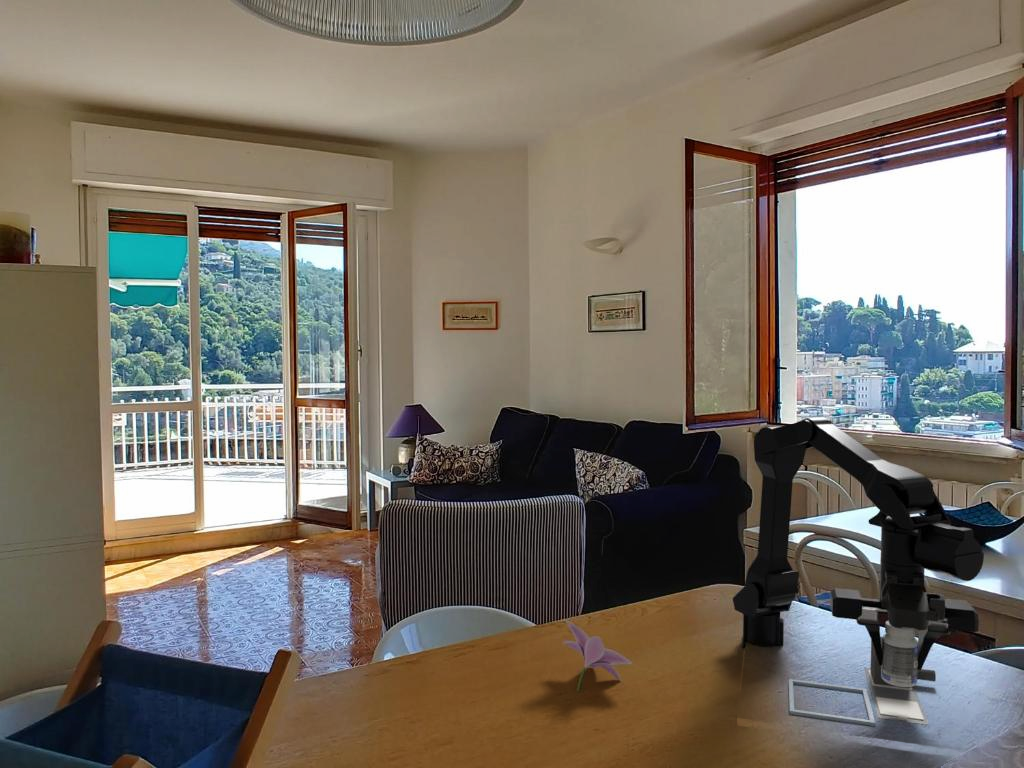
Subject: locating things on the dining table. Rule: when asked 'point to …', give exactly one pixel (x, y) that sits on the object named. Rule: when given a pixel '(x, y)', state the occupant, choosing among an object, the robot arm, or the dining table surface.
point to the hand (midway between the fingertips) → (899, 666)
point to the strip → (896, 702)
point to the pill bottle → (899, 656)
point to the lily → (594, 652)
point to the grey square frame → (827, 716)
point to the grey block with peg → (877, 679)
